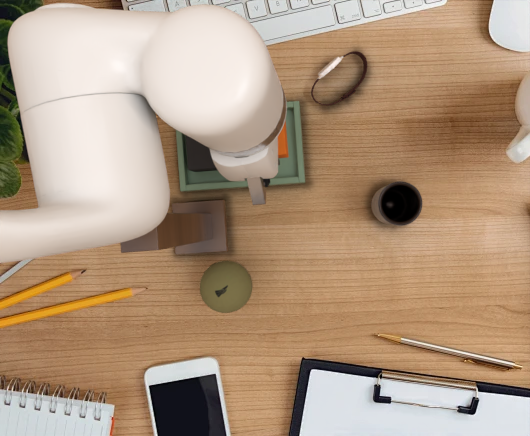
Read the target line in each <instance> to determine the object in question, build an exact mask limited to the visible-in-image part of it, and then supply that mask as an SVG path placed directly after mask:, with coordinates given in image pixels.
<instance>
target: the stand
mask: <svg viewBox="0 0 530 436" xmlns="http://www.w3.org/2000/svg"><path fill="white" fill-rule="evenodd" d="M171 211H172V212H167V214H166V216H165V218H164V219H163V221H162V222H161V223H160V224H159V225H158V226H157V227H156V228H154V229H153V230H152V231H150V232H148V233H147V234H145V235H142V236H140V237H138V238H135V239H132V240H129V241H125V242H121V243H119V244H120V253H121V254H125V253H126V254H128V253H140V252H153V251H154V252H155V251H161V250H165V249H171V248H174V252H175V256H179V255H193V254H205V253H206V254H209V253H219V252H228V251H229V239H228V225H227V213H226V201H225V199H217V200H216V199H215V200H203V201H202V200H201V201H189V202H173V203H171Z"/></svg>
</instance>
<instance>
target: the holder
mask: <svg viewBox="0 0 530 436" xmlns="http://www.w3.org/2000/svg"><path fill="white" fill-rule="evenodd" d="M286 102H287V114H286V131H287V143H288V155H289V157H288V158H278V159H279V161H280V165H278V173H277V175H276V176H275V177H274V178H270V184H269V185H268V187H272V186H283V185H284V186H286V185H300V184H306V183H307V182H306V169H305V167H306V166H305V156H304V142H303V141H304V140H303V139H304V138H303V128H302V114H301V113H302V112H301V103H300V100H292V101H291V100H290V101H286ZM175 137H176V138H175V139H176V151H177V163H178V165H177V167H178V179H179V191H180V192H184V193H188V192H189V193H190V192H202V191H203V192H205V191H217V190H218V191H219V190H231V189H245V188H249V187H248V183H247V178H246V181H229V180H228V179H226V178H225V177H223V176H222V175H221V174H220V173H219V171H218V170H217V171H203V172H193V171H190V170H188V162H187V148H186V135H185V134H183V133H181V132H179V131H178V130H176V129H175Z"/></svg>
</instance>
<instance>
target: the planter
mask: <svg viewBox="0 0 530 436" xmlns="http://www.w3.org/2000/svg"><path fill="white" fill-rule="evenodd" d="M370 205H371V206H370V207H371V211H372V214H373V215H374V217H375V218H376V220H378V221H379V222H381V223H382V224H385V225H392V226H396V227H397V226H398V227H400V226H401V227H402V226H408V225H410V224H412V223H413V222H414V221H416V220H417V219H418V218H419V216H420V215H421V213H422V210H423V197H422V194H421V192H420V191H419V189H418V188H417V187H416V186H415V185H413V184H411V183H410V182H407V181H403V180H401V181H394V182H391V183H389V184H387V185H385V186H383V187H381V188H379V189H378V190H377V191H376V192H375V193H374V195H373V197H372V199H371V204H370Z"/></svg>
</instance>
